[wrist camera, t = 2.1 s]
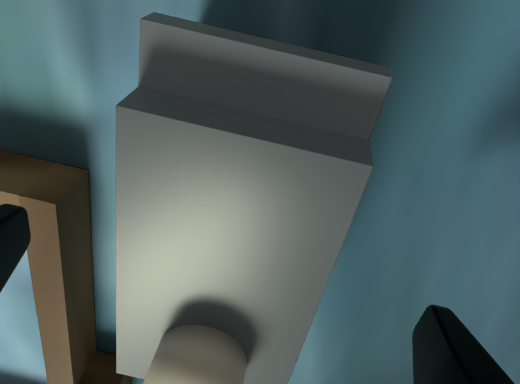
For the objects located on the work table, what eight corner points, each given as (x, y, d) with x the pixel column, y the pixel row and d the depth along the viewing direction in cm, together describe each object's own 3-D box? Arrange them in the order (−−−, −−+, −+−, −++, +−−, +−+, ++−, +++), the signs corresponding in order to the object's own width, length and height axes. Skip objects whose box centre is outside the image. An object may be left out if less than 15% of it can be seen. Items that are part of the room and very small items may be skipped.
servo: (372, 28, 9) (412, 127, 5) (283, 302, 15) (262, 477, 10) (200, -11, 10) (79, 49, 5) (171, 275, 15) (98, 437, 10)
